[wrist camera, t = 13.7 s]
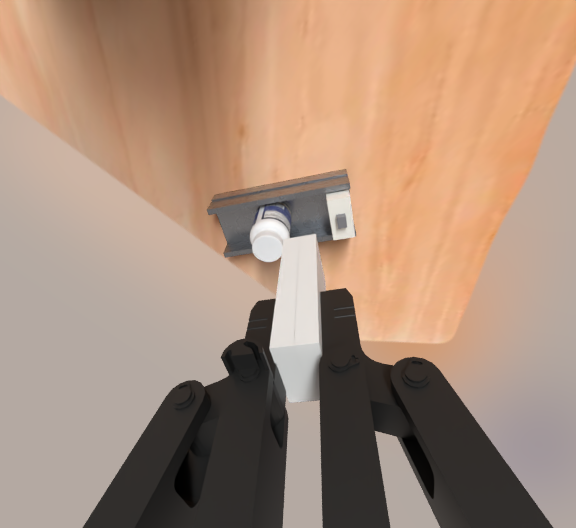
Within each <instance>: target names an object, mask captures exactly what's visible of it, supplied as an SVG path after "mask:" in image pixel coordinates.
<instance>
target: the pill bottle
mask: <svg viewBox="0 0 576 528" xmlns="http://www.w3.org/2000/svg"><path fill="white" fill-rule="evenodd" d="M290 230H291V212H290V210H289V208H288V207H287V206H286V205H285V204H284V203H282V202H276V203H270V204H265V205H260V206H259V207H258V209H257V211H256V214H255V218H254V221H253V225H252V228H251V231H250V242H251V244H252V251H253V254H254V255H255V256H256V258H258V259H259V260H261V261H264V262H273V261H276V260H278V259H279V258H280V257H281V255H282V248H283V241H284V239H288V238H290Z"/></svg>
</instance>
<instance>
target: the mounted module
mask: <svg viewBox="0 0 576 528" xmlns="http://www.w3.org/2000/svg"><path fill="white" fill-rule="evenodd" d="M326 199H327V205H328V211H329V217H330V223H331V229H332V235H333V240H339V239H345V238H352V237H355V231H354V223H353V215H352V208H351V200H350V194H349V190H348V189H345V190H340V191H334V192H329V193H326Z"/></svg>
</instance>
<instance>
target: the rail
mask: <svg viewBox="0 0 576 528" xmlns="http://www.w3.org/2000/svg"><path fill="white" fill-rule="evenodd" d="M345 189H348V190H349V189H350V183H349V179H348V175H347V171H346V169H344V170H338V171H333V172H328V173H323V174H318V175H313V176H308V177H303V178H298V179H293V180H288V181H283V182H278V183H273V184H268V185H263V186H258V187H252V188H247V189H242V190H237V191H232V192H227V193H222V194H217V195H214V197H213V199H212V202H211V204H210V206H209V207H208V209H207V212H208V214H209V215H212V214H217V216H218V219H219V222H220V224H221V227H222V230H223V233H224V235H225V238H226V241H227V246H226V248H225V251H224V256H225V257H231V256H238V255H244V254H250V253H253V251H252V244H251V242H250V231H251V228H252V225H253V221H254V218H255V214H256V211H257V209H258V207H259V206H260V205H265V204H270V203H276V202H282V203H284V204H285V205H286V206H287V207H288V208H289V210H290V212H291V230H290V238H294V237H300V236H306V235H312V234H316V237H317V242H323V241H329V240H333V235H332V229H331V223H330V217H329V211H328V205H327V199H326V193H329V192H334V191H340V190H345ZM349 194H350V191H349ZM350 200H351V199H350ZM351 208H352V207H351ZM353 223H354V222H353ZM354 231H355V226H354ZM355 236H356V231H355Z"/></svg>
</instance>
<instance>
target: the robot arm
mask: <svg viewBox="0 0 576 528" xmlns="http://www.w3.org/2000/svg"><path fill="white" fill-rule="evenodd" d="M221 359H222V361H223V363H224V365H225V367H226V369H227V371H228V373H229V376H228V377H226V378H224V379H222V380H220V381H218V382H216V383H213V384H210V385H208V386H205V387H204V386H203V385H202V384H201V383H200V382H198V381H195V380H192V381H186V382H183V383H181V384H179V385H177V386H176V387H175V388H173V389H172V390H171V391H170V393H169V394H168V395H167V396H166V398H165V400H164V401H163V402H162V404H161V406H160V407H159V409H158V410H157V412H156V414H155V415H154V416H153V418H152V420H151V421H150V423H149V424H148V426H147V428H146V429H145V431H144V432H143V434H142V435H141V437H140V438H139V440H138V442H137V443H136V445H135V446H134V448H133V449H132V451H131V453H130V454H129V456H128V457H127V459H126V460H125V462H124V464H123V465H122V467H121V469H120V470H119V472H118V473H117V475H116V476H115V478H114V479H113V481H112V482H111V484H110V486H109V487H108V489H107V490H106V492H105V494H104V495H103V497H102V498H101V500H100V501H99V503H98V504H97V506H96V508H95V509H94V511H93V512H92V514H91V515H90V517H89V519H88V520H87V522H86V523H85V525H84V527H83V528H282V526H283V507H284V489H285V470H286V451H287V434H288V432H287V431H288V414H287V410H286V408H285V402H286V396H287V398H288V401H289V403H292V402H304V401H317V400H320V430H321V471H322V472H321V474H322V515H323V528H390V522H389V516H388V510H387V504H386V498H385V491H384V485H383V479H382V473H381V467H380V461H379V455H378V448H377V442H376V436H375V431H378V432H382V433H386V434H390V435H393V436H397V438H398V440H399V442H400V444H401V446H402V448H403V450H404V452H405V454H406V456H407V458H408V461H409V463H410V465H411V467H412V469H413V471H414V473H415V475H416V477H417V479H418V481H419V483H420V486H421V488H422V490H423V492H424V494H425V496H426V498H427V500H428V503H429V505H430V506H431V509H432V511H433V513H434V515H435V517H436V519H437V521H438V523H439V526H440V527H441V528H553V527H552V525H551V524H550V523H549V521H548V520H547V518H546V517H545V516H544V514H543V513H542V511H541V510H540V509H539V508H538V506H537V505H536V503H535V502H534V501H533V499H532V498H531V496H530V495H529V493H528V492H527V491H526V489H525V488H524V487H523V485H522V484H521V483H520V481H519V480H518V478H517V477H516V475H515V474H514V473H513V471H512V470H511V468H510V467H509V466H508V464H507V463H506V462H505V460H504V459H503V458H502V456H501V455H500V453H499V452H498V451H497V449H496V448H495V446H494V445H493V444H492V442H491V441H490V440H489V438H488V437H487V436H486V434H485V432H484V431H483V430H482V428H481V427H480V426H479V424H478V423H477V422H476V420H475V419H474V417H473V416H472V414H471V413H470V412H469V410H468V409H467V407H466V406H465V405H464V403H463V402H462V401H461V399H460V398H459V396H458V395H457V394H456V392H455V391H454V389H453V388H452V387H451V385H450V384H449V383H448V381H447V380H446V379H445V377H444V376H443V374H442V373H441V371H440V370H439V369H438V368H437V367H436V366H435V365H434V364H433V363H431V362H429V361H427V360H425V359H423V358H417V357H410V358H404V359H402V360H400V361H398V362H397V363H396V364H395V365H394V366H393V365H387V364H382V363H379V362H376V361H374V360H371V359H370V358H369V357H367V356H366V355H365V354H364V352H363V351H362V348H361V345H360V339H359V333H358V327H357V321H356V315H355V308H354V302H353V296H352V295H351V294H350V293H349V291H348V290H347V289H346V288H343V289H336V290H329V291H326V284H325V277H324V272H323V267H322V262H321V257H320V252H319V247H318V242H317V237H316V234H312V235H306V236H300V237H294V238H288V239H284V241H283V248H282V256H281V263H280V271H279V279H278V286H277V294H276V299H270V300H262V301H258V302H257V303H256V305H255V306H254V307H253V309H252V310H251V313H250V318H249V323H248V327H247V332H246V336H245V339H241V340H237V341H235V342H234V343H232V344H230V345H229V346H228V347H227V348H226V349H225V350H224V352H223V354H222V356H221Z"/></svg>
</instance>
